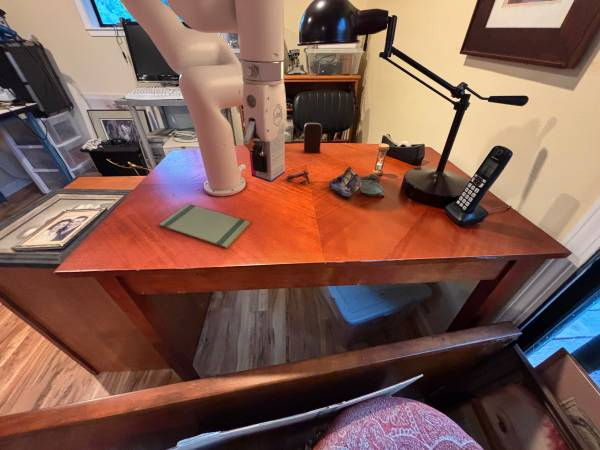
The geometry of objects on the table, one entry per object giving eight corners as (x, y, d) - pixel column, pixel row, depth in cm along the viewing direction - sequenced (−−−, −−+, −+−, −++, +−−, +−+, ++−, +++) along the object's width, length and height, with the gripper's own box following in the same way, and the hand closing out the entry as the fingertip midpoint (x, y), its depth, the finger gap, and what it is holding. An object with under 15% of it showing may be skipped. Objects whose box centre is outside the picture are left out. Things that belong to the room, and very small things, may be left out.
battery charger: (319, 149, 100) (321, 121, 93) (320, 153, 97) (322, 124, 90) (303, 149, 100) (303, 121, 93) (303, 153, 97) (304, 124, 90)
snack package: (374, 196, 73) (356, 177, 81) (376, 178, 68) (357, 160, 77) (338, 207, 71) (323, 187, 79) (337, 190, 67) (322, 170, 75)
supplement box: (285, 172, 57) (285, 122, 50) (271, 183, 53) (268, 130, 46) (265, 166, 59) (263, 117, 52) (250, 176, 55) (245, 124, 48)
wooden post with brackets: (311, 184, 75) (306, 171, 73) (290, 188, 80) (285, 176, 78) (313, 181, 77) (309, 168, 75) (293, 185, 81) (288, 173, 79)
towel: (188, 205, 67) (187, 203, 66) (250, 223, 61) (249, 221, 61) (159, 226, 60) (158, 223, 59) (226, 248, 54) (225, 246, 53)
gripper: (257, 81, 36) (264, 186, 47) (300, 68, 48) (297, 153, 60) (215, 76, 38) (231, 177, 49) (267, 65, 50) (270, 148, 62)
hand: (267, 163), depth 54 cm, fingers closed on supplement box, 6 cm apart
